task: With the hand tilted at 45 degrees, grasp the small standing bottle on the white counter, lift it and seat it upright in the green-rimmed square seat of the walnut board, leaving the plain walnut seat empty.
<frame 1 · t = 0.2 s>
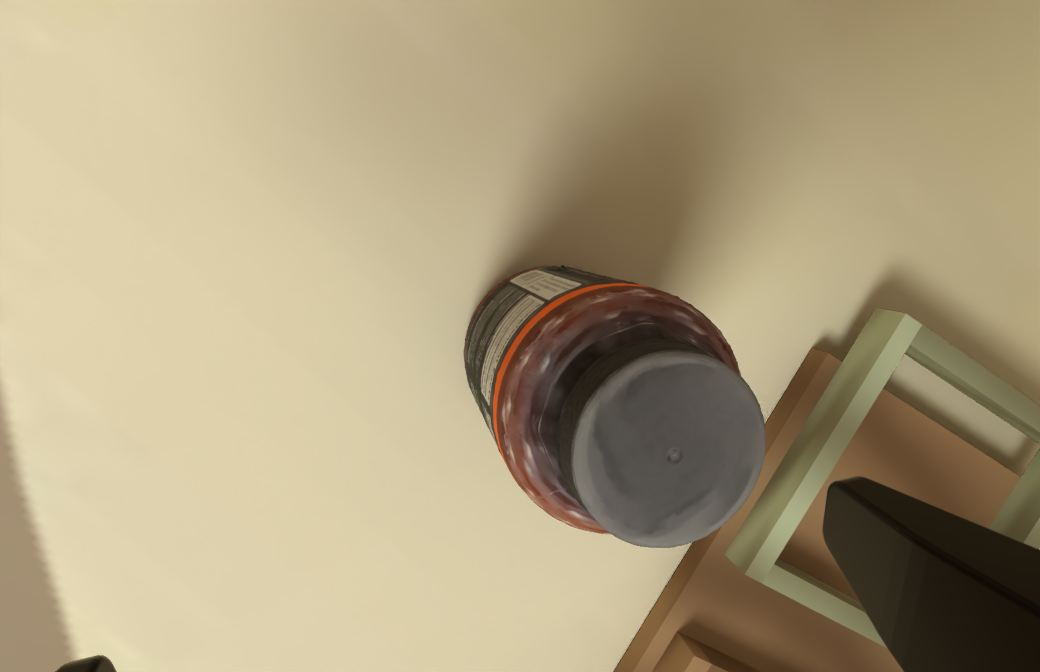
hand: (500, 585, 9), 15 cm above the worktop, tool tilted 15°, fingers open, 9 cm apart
supplement bottle: (544, 347, 24), on the worktop
seat board: (791, 630, 28), on the worktop
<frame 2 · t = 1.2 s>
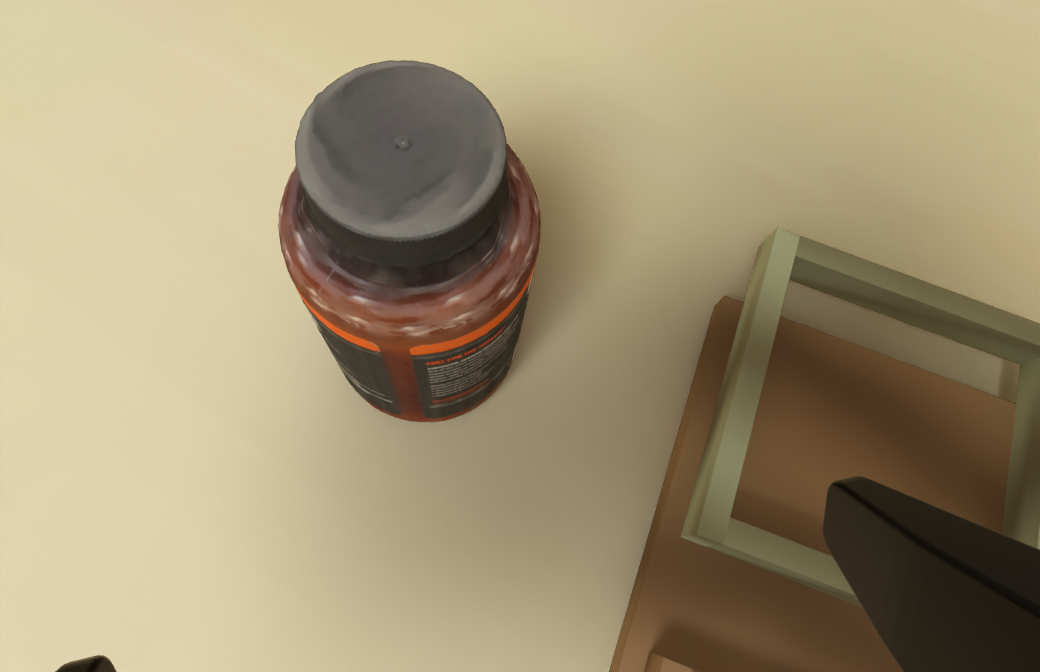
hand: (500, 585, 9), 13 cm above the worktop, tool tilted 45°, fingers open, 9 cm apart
supplement bottle: (427, 342, 24), on the worktop
seat board: (818, 655, 21), on the worktop
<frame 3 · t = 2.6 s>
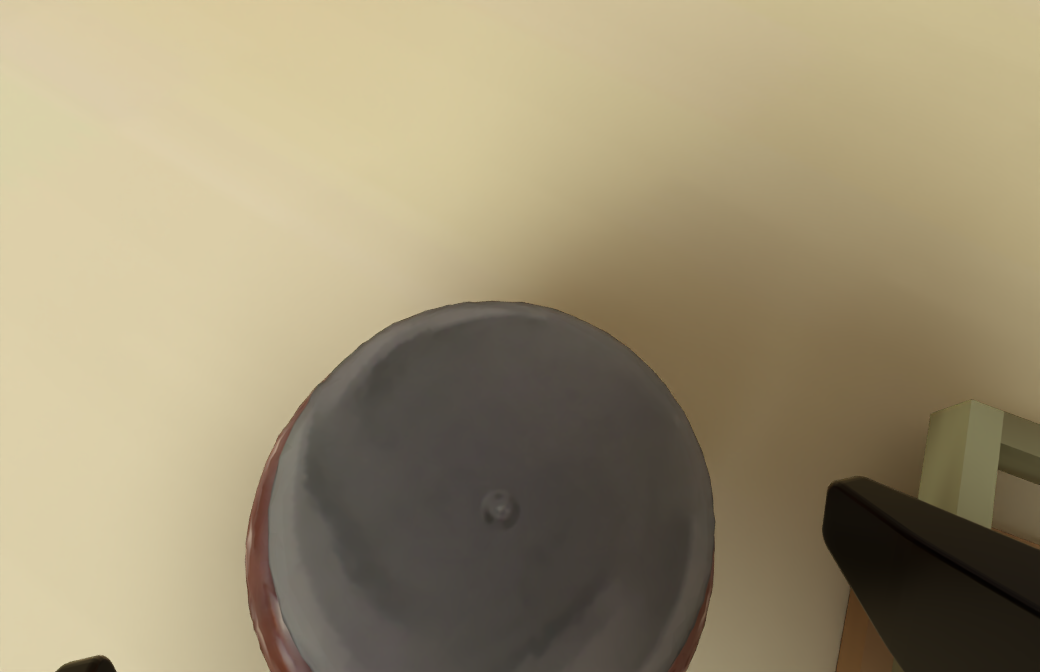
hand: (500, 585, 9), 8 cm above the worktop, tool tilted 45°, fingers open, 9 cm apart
supplement bottle: (473, 557, 17), on the worktop
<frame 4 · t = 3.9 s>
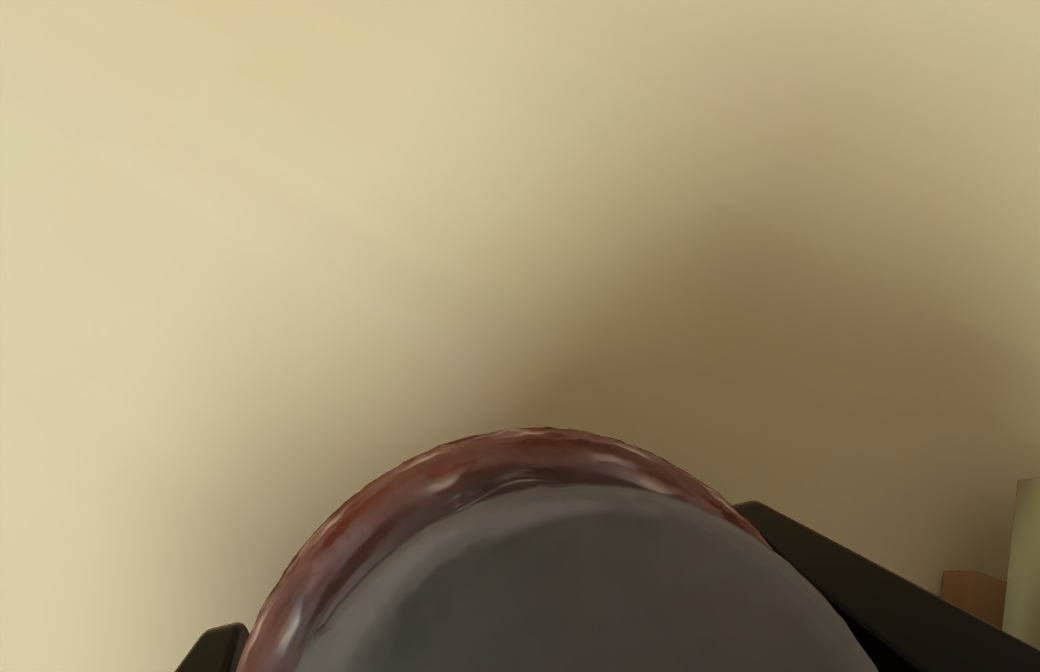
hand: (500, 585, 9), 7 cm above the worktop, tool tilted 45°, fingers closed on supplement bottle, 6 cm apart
supplement bottle: (495, 649, 15), on the worktop, touching gripper
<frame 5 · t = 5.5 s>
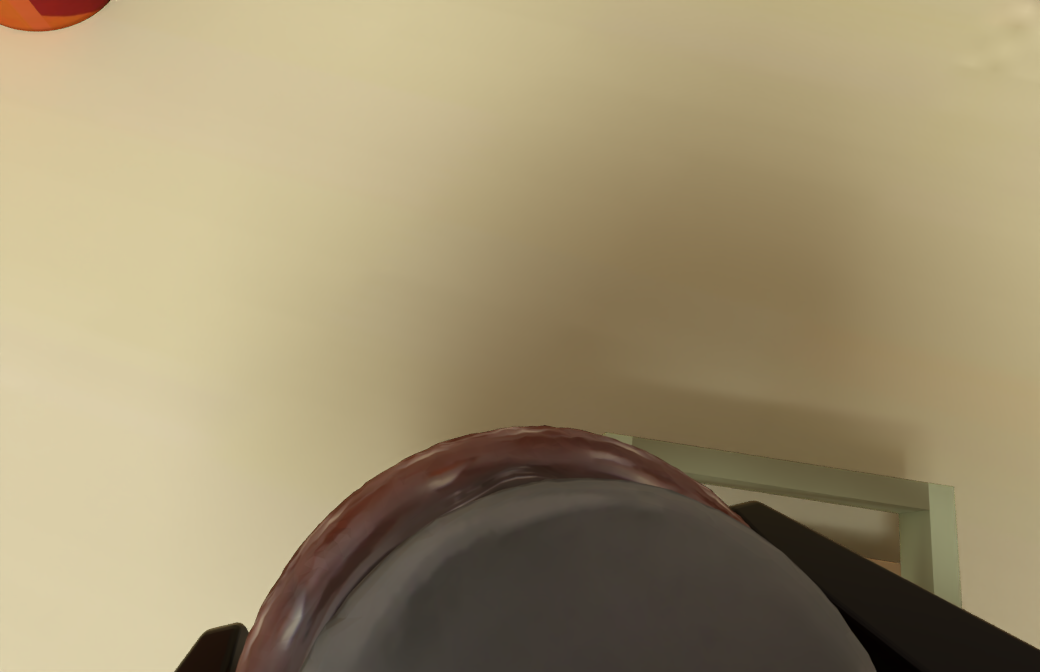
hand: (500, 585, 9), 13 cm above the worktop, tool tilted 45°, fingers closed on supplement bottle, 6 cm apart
supplement bottle: (485, 648, 15), point 6 cm above the worktop, touching gripper
when the fingers open (9 cm above the worktop, at t = 7.1 s): supplement bottle drops 1 cm, resting on seat board.
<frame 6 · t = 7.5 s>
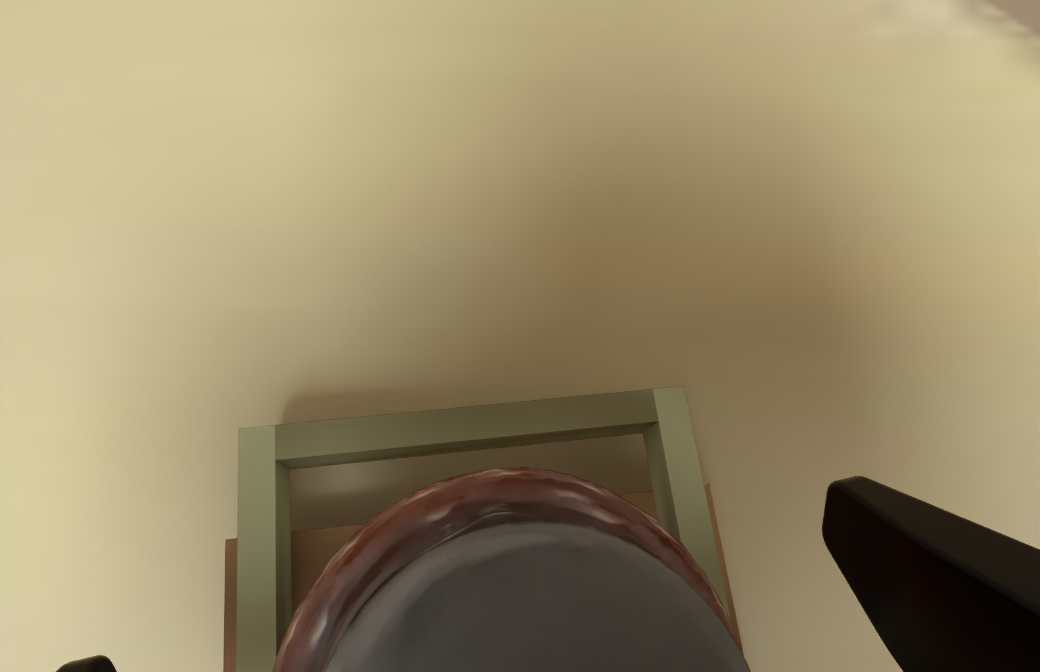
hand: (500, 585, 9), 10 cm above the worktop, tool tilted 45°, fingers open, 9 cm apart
supplement bottle: (485, 653, 16), point 1 cm above the worktop, touching seat board
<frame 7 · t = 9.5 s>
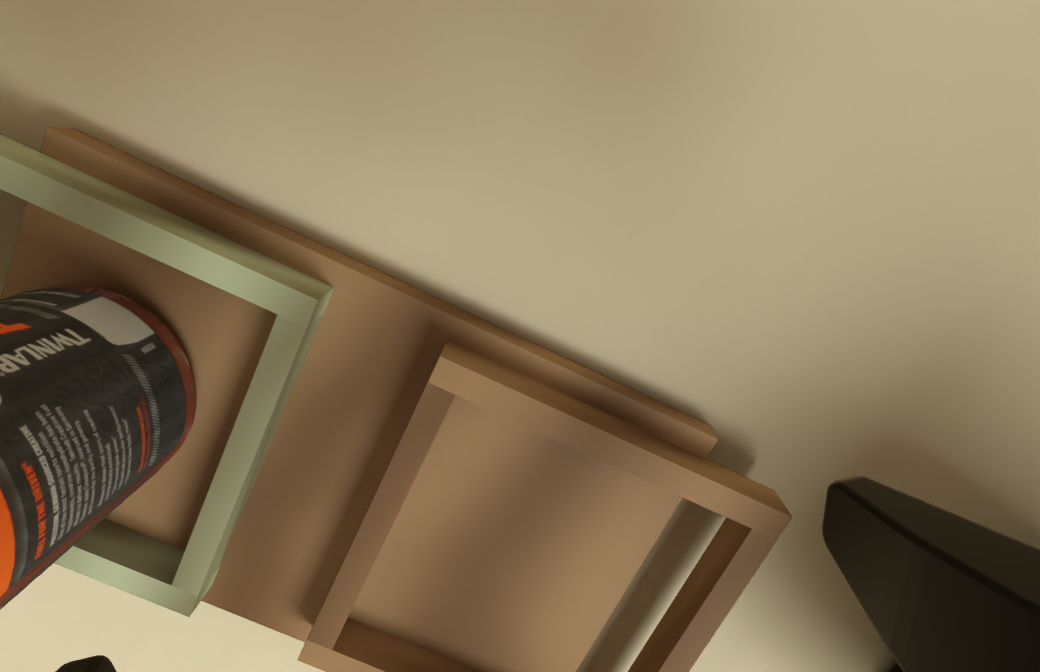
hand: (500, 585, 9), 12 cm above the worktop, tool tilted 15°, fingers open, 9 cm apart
supplement bottle: (106, 377, 20), point 1 cm above the worktop, touching seat board
seat board: (332, 454, 21), on the worktop
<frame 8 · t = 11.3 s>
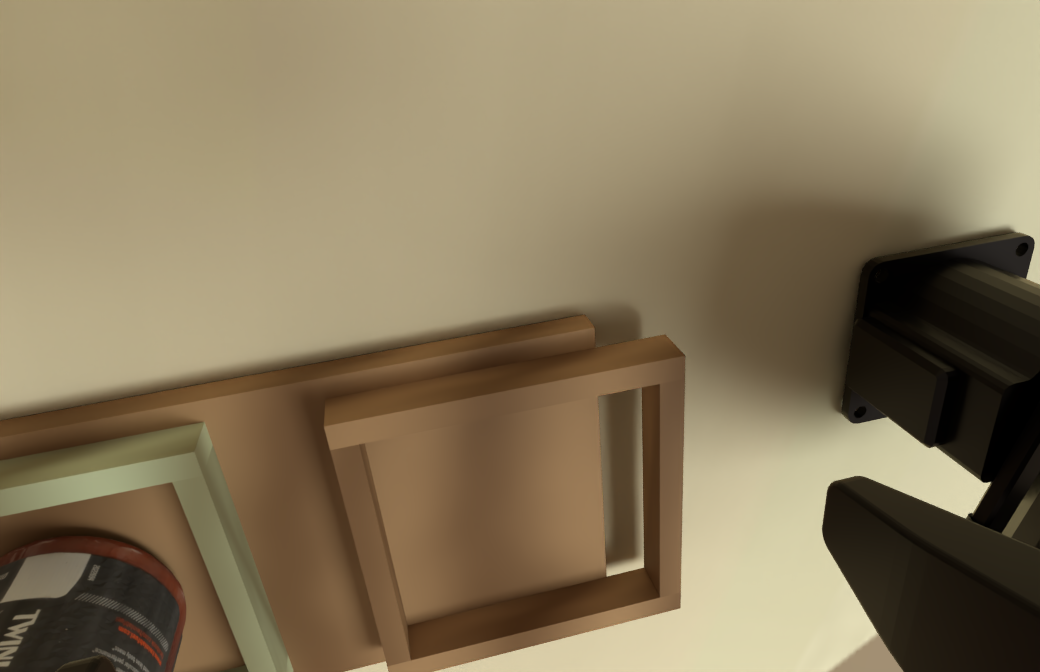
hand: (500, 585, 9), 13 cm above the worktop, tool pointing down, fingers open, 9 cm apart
supplement bottle: (88, 595, 22), point 1 cm above the worktop, touching seat board
seat board: (309, 526, 23), on the worktop
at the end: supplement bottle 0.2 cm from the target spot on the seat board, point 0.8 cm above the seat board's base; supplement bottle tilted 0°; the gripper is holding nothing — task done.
